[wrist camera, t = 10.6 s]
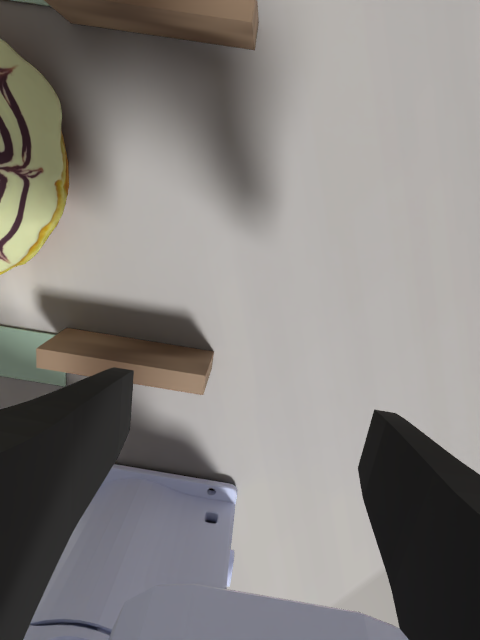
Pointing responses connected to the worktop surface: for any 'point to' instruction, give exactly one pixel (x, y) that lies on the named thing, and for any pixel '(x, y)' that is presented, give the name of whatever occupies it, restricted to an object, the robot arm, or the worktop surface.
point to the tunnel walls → (174, 22)
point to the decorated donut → (28, 160)
